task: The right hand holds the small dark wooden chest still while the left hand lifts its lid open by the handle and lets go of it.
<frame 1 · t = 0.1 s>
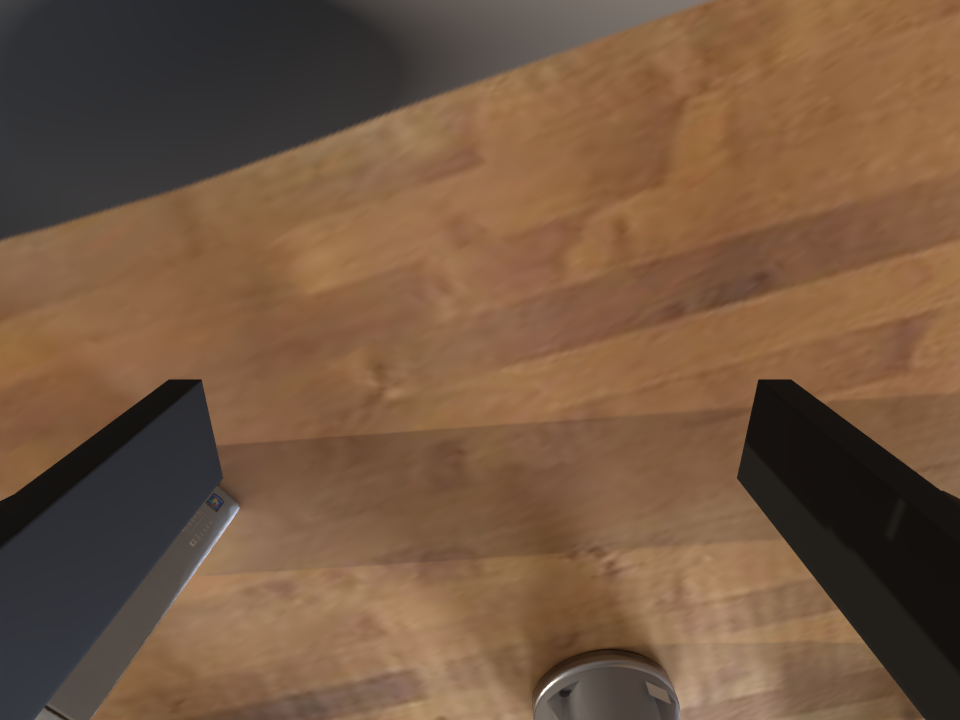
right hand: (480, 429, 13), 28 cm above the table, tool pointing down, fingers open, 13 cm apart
hard drive box: (155, 519, 48), on the table
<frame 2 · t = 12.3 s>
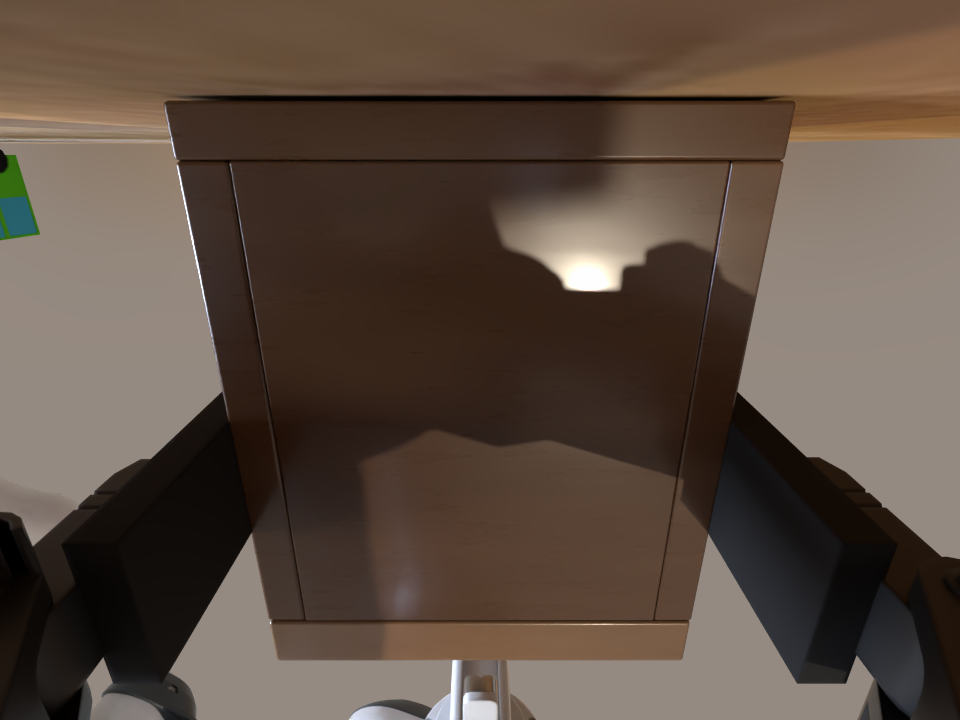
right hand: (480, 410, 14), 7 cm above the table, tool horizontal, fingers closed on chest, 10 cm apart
lid: (479, 527, 22), point 16 cm above the table, hinge at 0.0°
chest: (479, 123, 16), on the table, touching right hand
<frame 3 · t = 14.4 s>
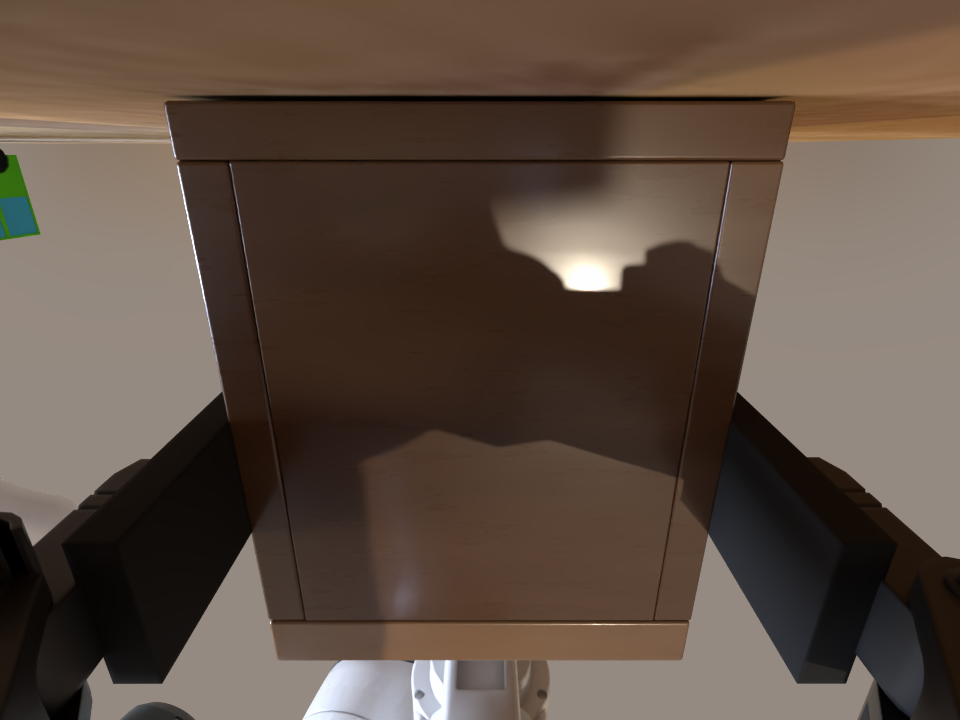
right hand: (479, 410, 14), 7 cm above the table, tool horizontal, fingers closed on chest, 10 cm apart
lid: (479, 527, 22), point 16 cm above the table, hinge at 0.0°, touching left hand
chest: (479, 123, 16), on the table, touching right hand
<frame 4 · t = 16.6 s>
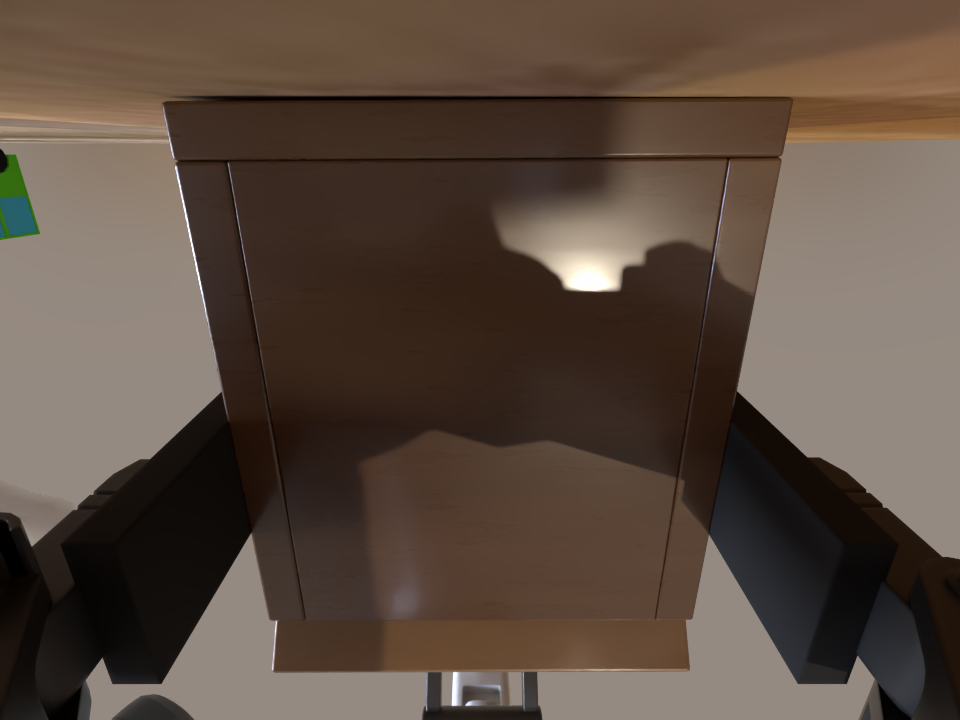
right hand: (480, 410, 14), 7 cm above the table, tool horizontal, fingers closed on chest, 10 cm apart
lid: (481, 688, 20), point 20 cm above the table, hinge at 35.3°, touching left hand
chest: (478, 124, 16), on the table, touching right hand
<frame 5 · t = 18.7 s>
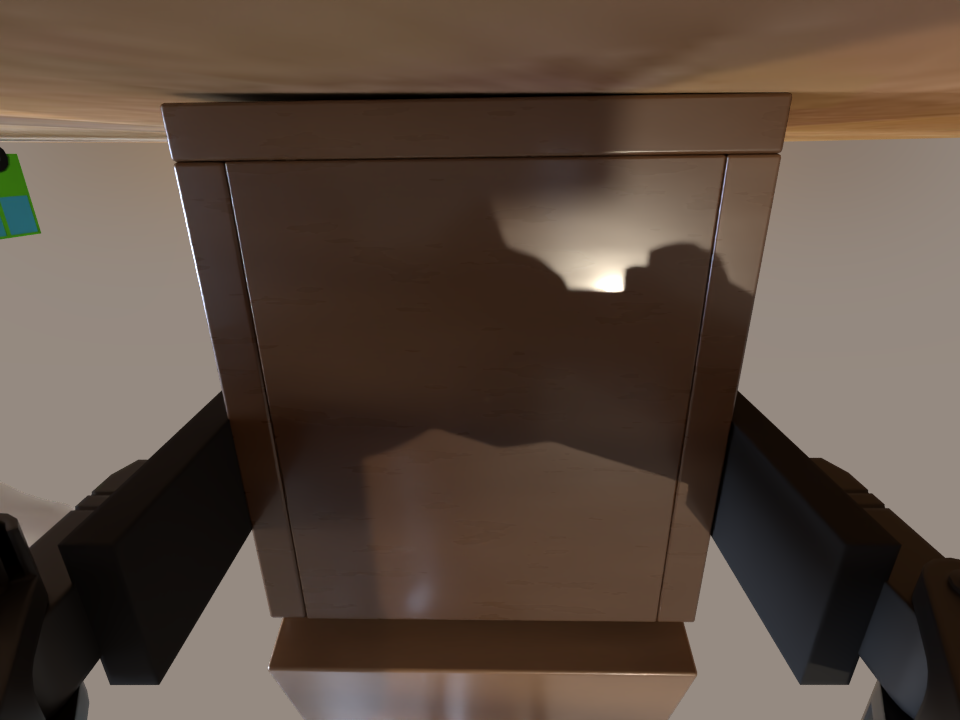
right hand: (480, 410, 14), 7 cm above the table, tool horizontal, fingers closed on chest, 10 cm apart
chest: (482, 123, 16), on the table, touching right hand
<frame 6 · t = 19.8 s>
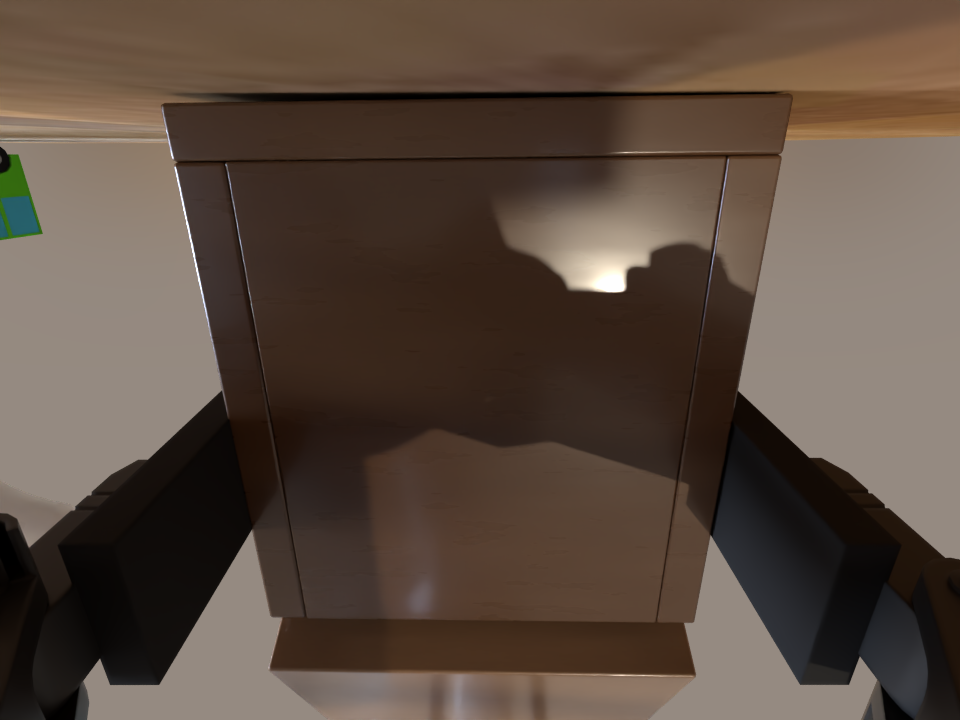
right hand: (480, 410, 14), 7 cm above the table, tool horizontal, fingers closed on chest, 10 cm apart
chest: (482, 123, 16), on the table, touching right hand
when the right hand's fingers open (7 cm above the table, at t = 22.8 s): chest stays where it is, on the table.
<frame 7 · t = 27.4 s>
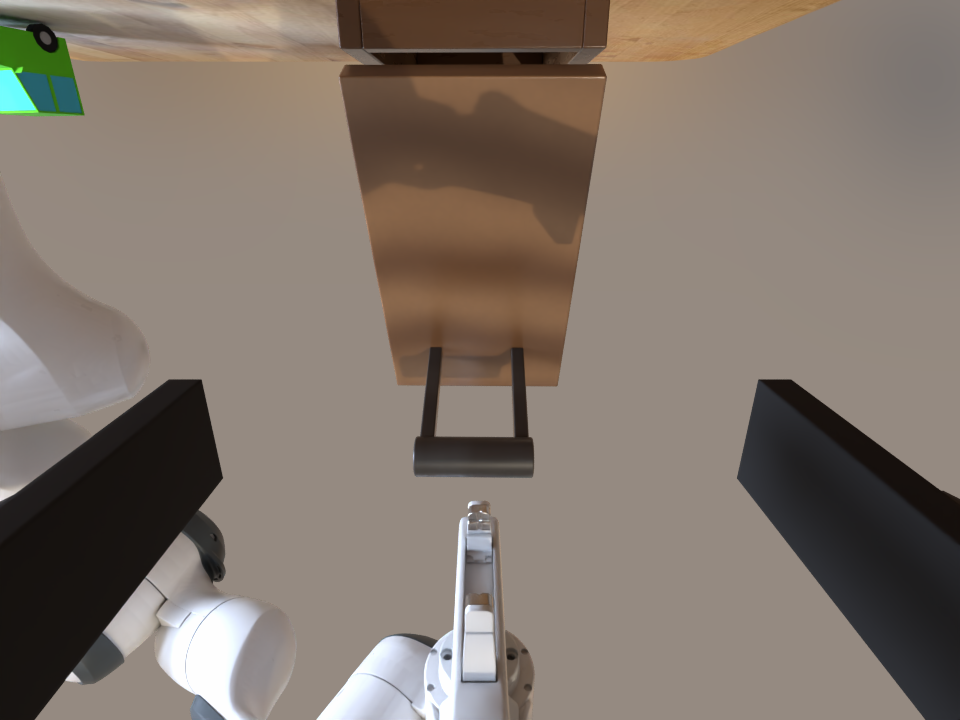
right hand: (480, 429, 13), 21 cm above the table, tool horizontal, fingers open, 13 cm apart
left hand: (479, 548, 37), fingers open, 8 cm apart
lid: (473, 317, 23), point 21 cm above the table, hinge at 64.5°
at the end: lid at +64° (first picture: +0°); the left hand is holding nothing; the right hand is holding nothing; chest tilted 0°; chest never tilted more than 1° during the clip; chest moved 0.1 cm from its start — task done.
